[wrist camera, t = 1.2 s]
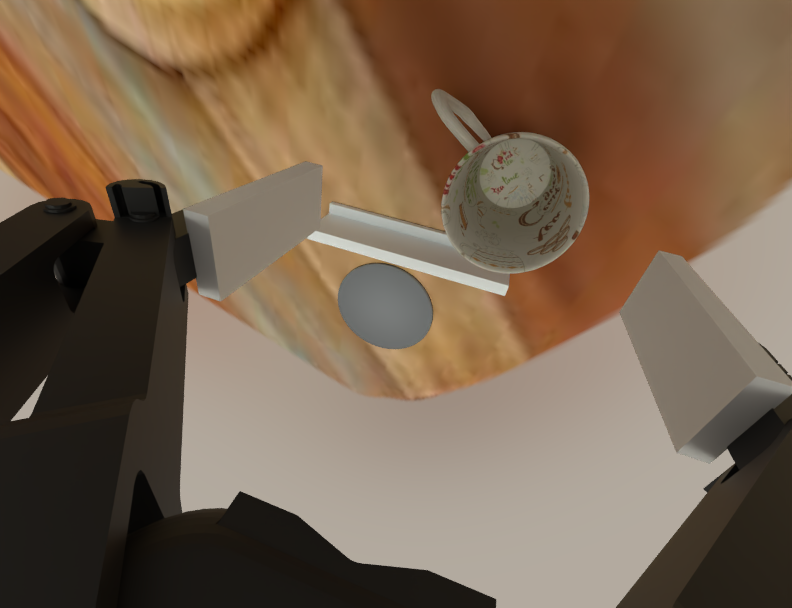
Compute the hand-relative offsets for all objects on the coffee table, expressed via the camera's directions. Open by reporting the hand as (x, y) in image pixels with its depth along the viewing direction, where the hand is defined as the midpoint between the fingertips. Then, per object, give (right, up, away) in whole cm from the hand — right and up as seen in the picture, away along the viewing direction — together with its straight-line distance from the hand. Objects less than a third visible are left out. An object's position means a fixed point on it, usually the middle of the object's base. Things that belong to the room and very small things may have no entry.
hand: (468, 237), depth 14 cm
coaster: (-4, -3, +26) cm, 26 cm away
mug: (+5, +10, +15) cm, 18 cm away
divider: (-1, +4, +20) cm, 21 cm away
